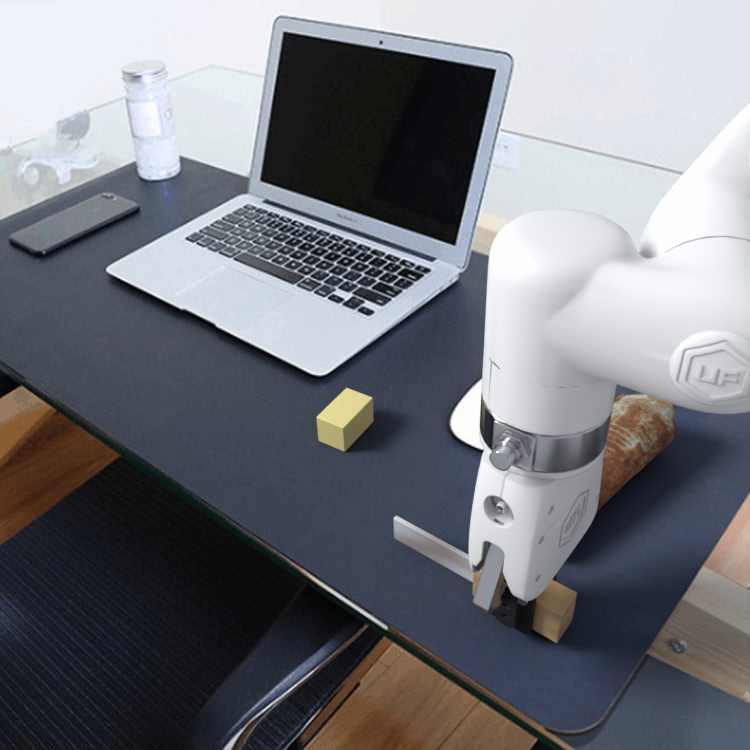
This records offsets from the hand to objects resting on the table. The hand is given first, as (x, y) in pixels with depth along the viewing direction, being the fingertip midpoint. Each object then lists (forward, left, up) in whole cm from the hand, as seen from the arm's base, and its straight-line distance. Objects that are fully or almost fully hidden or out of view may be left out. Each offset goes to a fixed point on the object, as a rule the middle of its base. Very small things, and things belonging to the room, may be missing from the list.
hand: (521, 605), depth 58 cm
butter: (+20, -15, -1) cm, 25 cm away
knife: (+4, -1, 0) cm, 4 cm away
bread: (-4, -14, -1) cm, 14 cm away
